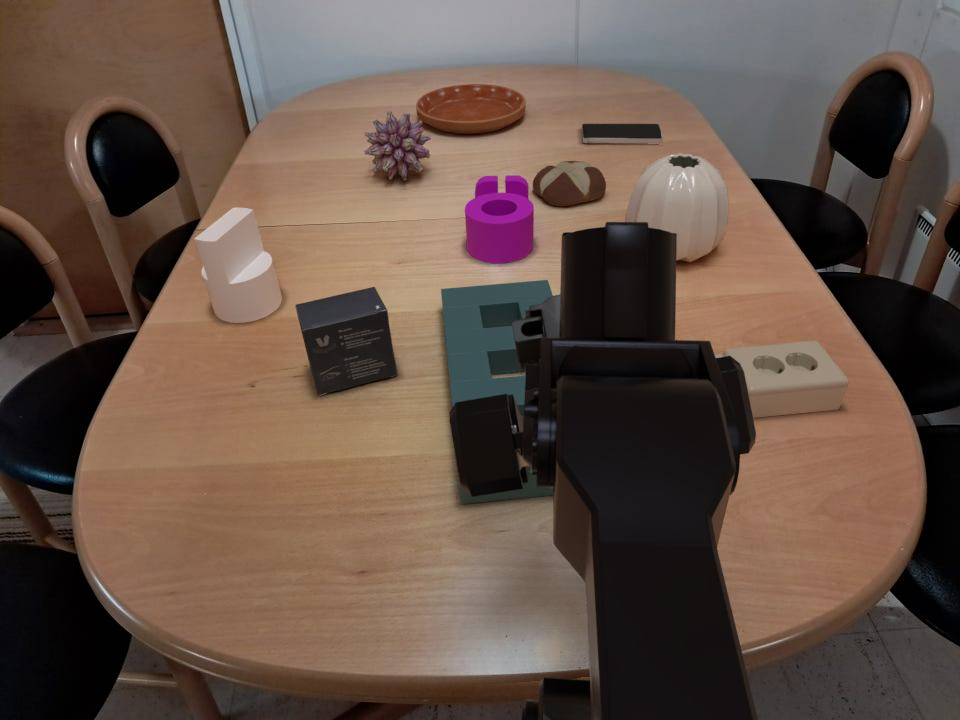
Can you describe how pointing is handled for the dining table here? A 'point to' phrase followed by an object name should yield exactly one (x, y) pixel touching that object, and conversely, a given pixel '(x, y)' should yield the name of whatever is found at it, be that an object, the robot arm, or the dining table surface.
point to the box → (347, 340)
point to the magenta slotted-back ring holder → (500, 220)
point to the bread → (569, 183)
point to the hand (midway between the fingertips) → (589, 421)
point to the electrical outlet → (790, 378)
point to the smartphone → (622, 133)
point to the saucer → (471, 108)
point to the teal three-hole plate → (489, 352)
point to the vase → (682, 203)
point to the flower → (397, 145)
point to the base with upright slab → (238, 268)
